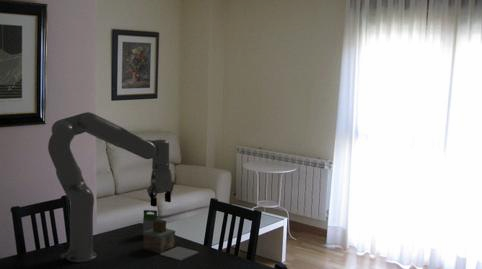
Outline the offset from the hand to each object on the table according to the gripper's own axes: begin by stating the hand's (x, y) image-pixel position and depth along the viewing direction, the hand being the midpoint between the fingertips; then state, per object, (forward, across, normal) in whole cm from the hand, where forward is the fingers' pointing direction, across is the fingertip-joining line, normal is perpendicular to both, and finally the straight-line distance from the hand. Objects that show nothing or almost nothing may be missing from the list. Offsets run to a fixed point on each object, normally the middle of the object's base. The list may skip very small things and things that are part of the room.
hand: (160, 203), depth 253 cm
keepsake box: (+21, -1, 0) cm, 21 cm away
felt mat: (+21, -1, -12) cm, 24 cm away
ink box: (+21, +11, +16) cm, 29 cm away
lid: (+14, -1, 0) cm, 14 cm away
